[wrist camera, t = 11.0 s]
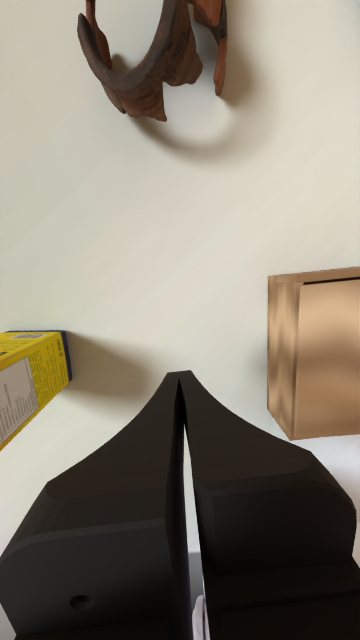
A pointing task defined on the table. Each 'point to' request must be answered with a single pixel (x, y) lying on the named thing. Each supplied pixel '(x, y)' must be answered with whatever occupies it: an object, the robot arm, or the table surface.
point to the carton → (289, 338)
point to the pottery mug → (156, 56)
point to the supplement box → (29, 376)
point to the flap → (328, 360)
